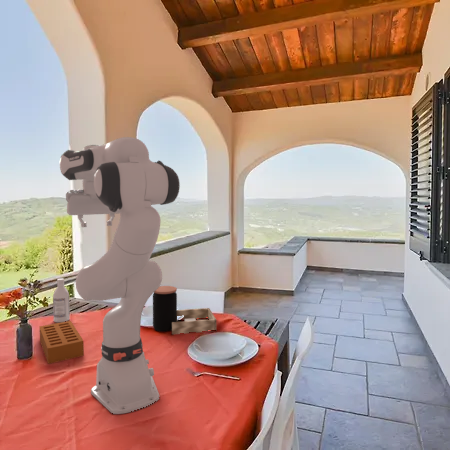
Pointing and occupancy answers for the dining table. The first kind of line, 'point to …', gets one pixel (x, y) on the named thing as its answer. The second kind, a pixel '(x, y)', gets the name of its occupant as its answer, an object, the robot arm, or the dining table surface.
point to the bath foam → (61, 303)
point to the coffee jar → (164, 308)
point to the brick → (61, 342)
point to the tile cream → (190, 319)
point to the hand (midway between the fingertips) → (97, 226)
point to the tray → (194, 325)
